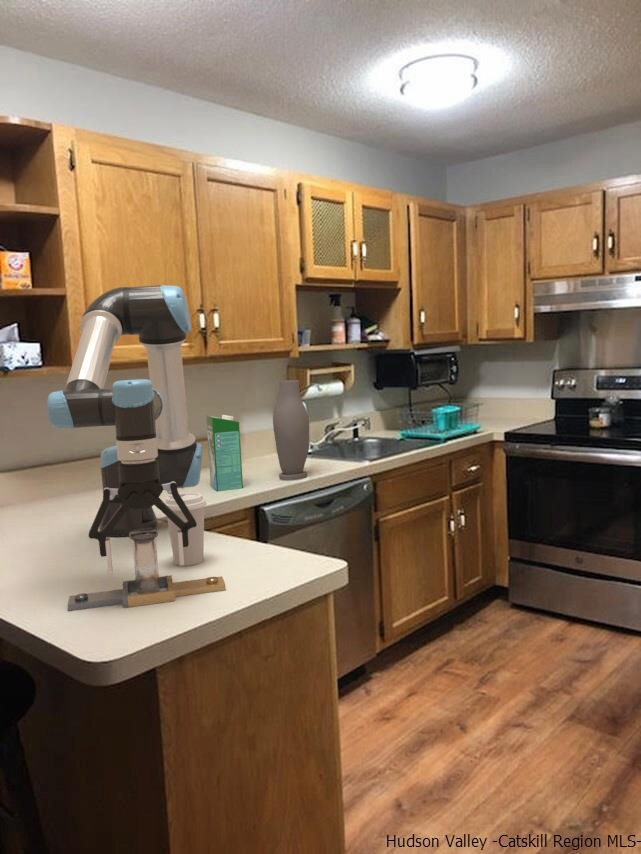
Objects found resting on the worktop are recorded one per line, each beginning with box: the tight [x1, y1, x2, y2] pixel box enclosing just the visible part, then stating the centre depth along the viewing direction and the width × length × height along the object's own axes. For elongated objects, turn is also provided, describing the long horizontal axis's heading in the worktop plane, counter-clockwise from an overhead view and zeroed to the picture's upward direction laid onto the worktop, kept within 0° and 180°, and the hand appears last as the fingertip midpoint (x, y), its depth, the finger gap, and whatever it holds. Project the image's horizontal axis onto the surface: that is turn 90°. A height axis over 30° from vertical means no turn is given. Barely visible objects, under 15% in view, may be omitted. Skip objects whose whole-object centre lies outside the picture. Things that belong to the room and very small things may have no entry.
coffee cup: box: [164, 492, 207, 567], centre depth 157 cm, size 10×10×15 cm
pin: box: [129, 528, 161, 594], centre depth 137 cm, size 5×5×13 cm
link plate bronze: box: [128, 574, 226, 608], centre depth 139 cm, size 10×19×2 cm, turn 105°
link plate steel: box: [67, 575, 168, 612], centre depth 136 cm, size 10×19×2 cm, turn 105°
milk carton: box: [206, 414, 244, 492], centre depth 238 cm, size 9×9×25 cm
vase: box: [272, 379, 310, 481], centre depth 250 cm, size 13×13×35 cm
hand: (146, 567), depth 137 cm, fingers open, 13 cm apart
